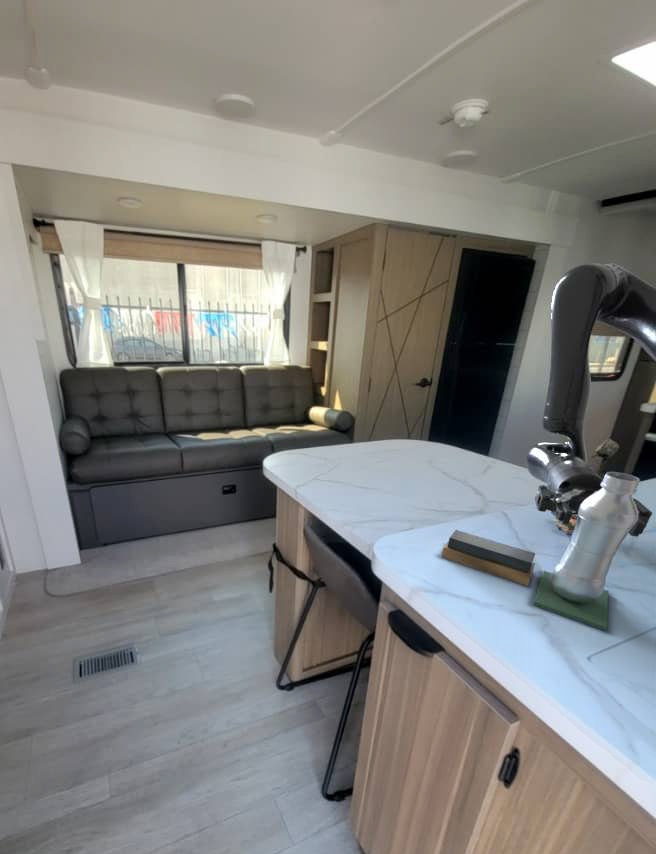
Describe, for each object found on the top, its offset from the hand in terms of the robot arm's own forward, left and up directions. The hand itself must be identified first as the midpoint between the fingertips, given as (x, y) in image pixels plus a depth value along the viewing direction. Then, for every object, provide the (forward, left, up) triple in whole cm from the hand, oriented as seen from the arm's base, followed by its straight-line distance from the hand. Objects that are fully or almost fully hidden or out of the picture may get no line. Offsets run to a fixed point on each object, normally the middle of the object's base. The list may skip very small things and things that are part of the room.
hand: (602, 524), depth 59 cm
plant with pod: (0, -29, -13) cm, 32 cm away
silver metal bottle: (0, 0, -13) cm, 13 cm away
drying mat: (0, +1, -13) cm, 13 cm away
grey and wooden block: (+13, -1, -13) cm, 18 cm away
